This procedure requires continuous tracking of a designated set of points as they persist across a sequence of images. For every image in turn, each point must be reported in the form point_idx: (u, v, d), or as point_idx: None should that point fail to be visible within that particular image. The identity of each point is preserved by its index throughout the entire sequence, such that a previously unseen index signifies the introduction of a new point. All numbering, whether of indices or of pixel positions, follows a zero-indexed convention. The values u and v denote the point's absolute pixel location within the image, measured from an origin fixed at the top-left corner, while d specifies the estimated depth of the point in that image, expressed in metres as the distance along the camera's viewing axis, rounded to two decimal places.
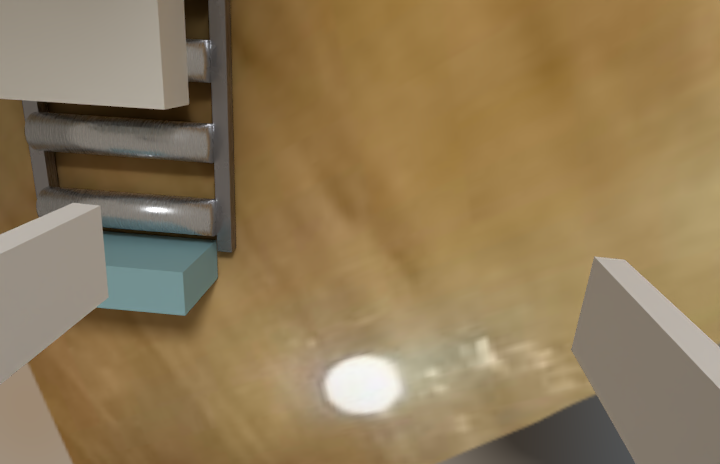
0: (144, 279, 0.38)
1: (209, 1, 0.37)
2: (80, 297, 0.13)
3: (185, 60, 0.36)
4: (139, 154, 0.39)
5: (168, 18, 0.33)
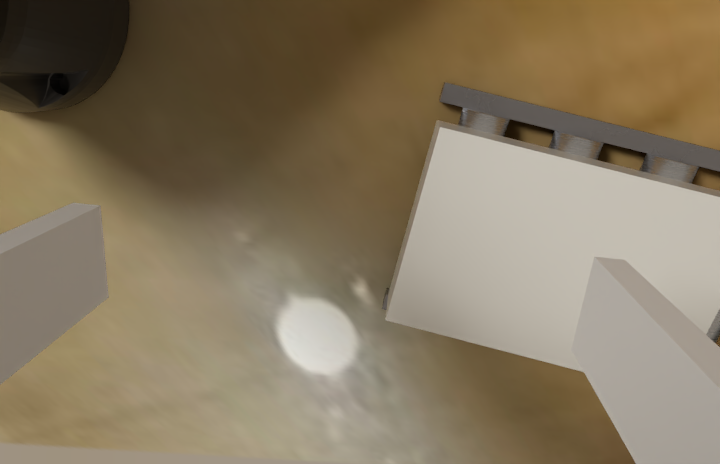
0: None
1: (607, 142, 0.33)
2: (80, 297, 0.13)
3: (679, 181, 0.31)
4: None
5: (654, 178, 0.29)
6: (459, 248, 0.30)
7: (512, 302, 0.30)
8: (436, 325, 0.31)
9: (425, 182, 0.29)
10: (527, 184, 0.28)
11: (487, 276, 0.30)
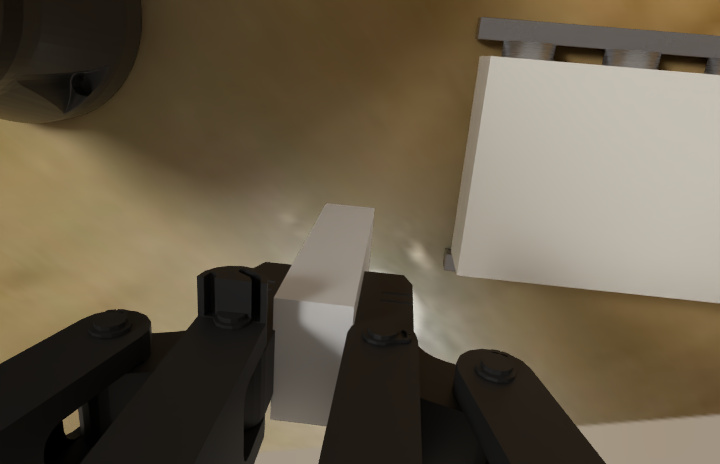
0: None
1: (664, 52, 0.30)
2: None
3: None
4: None
5: None
6: (527, 185, 0.28)
7: (590, 235, 0.28)
8: (512, 272, 0.29)
9: (482, 119, 0.27)
10: (593, 103, 0.26)
11: (561, 211, 0.28)
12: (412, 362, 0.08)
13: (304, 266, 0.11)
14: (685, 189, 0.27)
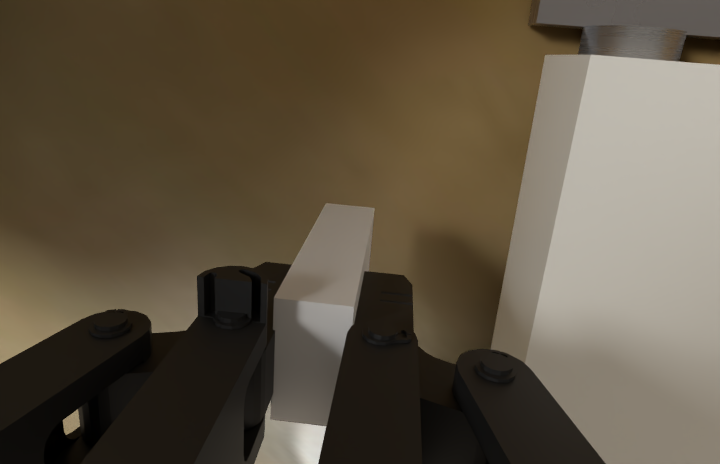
0: None
1: None
2: None
3: None
4: None
5: None
6: (651, 317, 0.14)
7: None
8: None
9: (564, 188, 0.13)
10: None
11: (716, 365, 0.14)
12: (412, 362, 0.08)
13: (304, 266, 0.11)
14: None
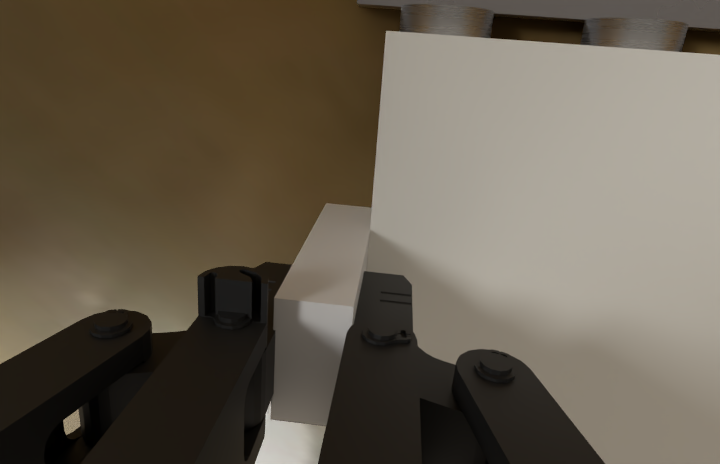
0: None
1: (691, 24, 0.17)
2: None
3: None
4: None
5: None
6: (475, 290, 0.14)
7: (602, 381, 0.14)
8: None
9: (377, 163, 0.13)
10: (607, 128, 0.12)
11: (543, 338, 0.14)
12: (411, 362, 0.08)
13: (304, 266, 0.11)
14: None
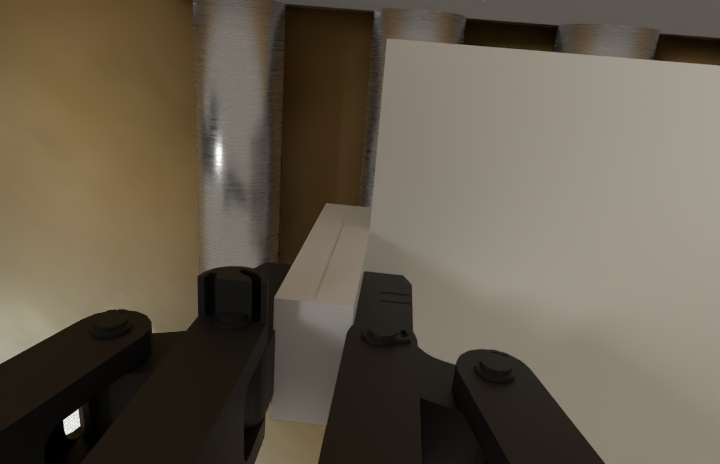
0: None
1: (478, 16, 0.17)
2: None
3: None
4: None
5: None
6: (475, 300, 0.14)
7: (601, 393, 0.14)
8: None
9: (377, 171, 0.13)
10: (608, 139, 0.12)
11: (542, 348, 0.14)
12: (411, 362, 0.08)
13: (304, 266, 0.11)
14: None
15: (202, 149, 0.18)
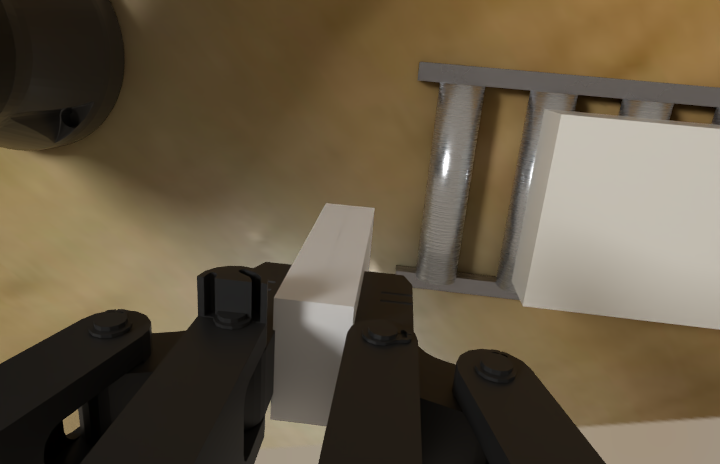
0: None
1: (582, 93, 0.34)
2: None
3: None
4: None
5: None
6: (590, 227, 0.31)
7: (647, 272, 0.31)
8: (573, 304, 0.32)
9: (551, 168, 0.30)
10: (652, 155, 0.29)
11: (620, 250, 0.31)
12: (412, 362, 0.08)
13: (304, 266, 0.11)
14: None
15: (439, 158, 0.35)
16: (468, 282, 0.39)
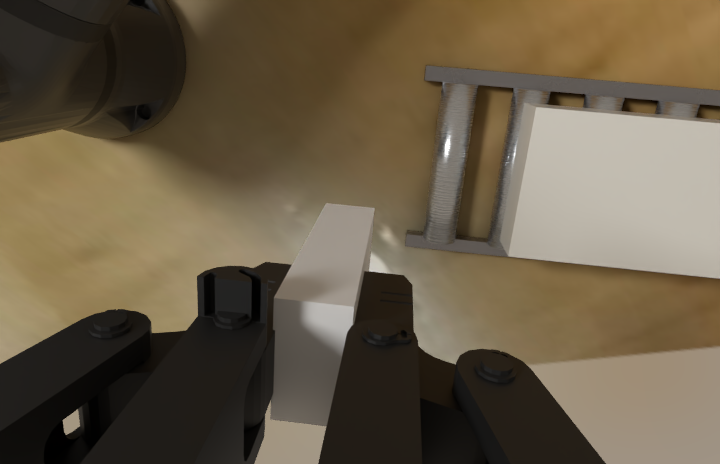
0: None
1: (554, 90, 0.43)
2: None
3: (714, 119, 0.41)
4: None
5: (697, 119, 0.39)
6: (559, 193, 0.40)
7: (602, 228, 0.41)
8: (547, 254, 0.42)
9: (528, 148, 0.39)
10: (604, 138, 0.39)
11: (582, 211, 0.40)
12: (412, 362, 0.08)
13: (304, 266, 0.11)
14: (667, 196, 0.39)
15: (442, 142, 0.44)
16: (465, 242, 0.48)
